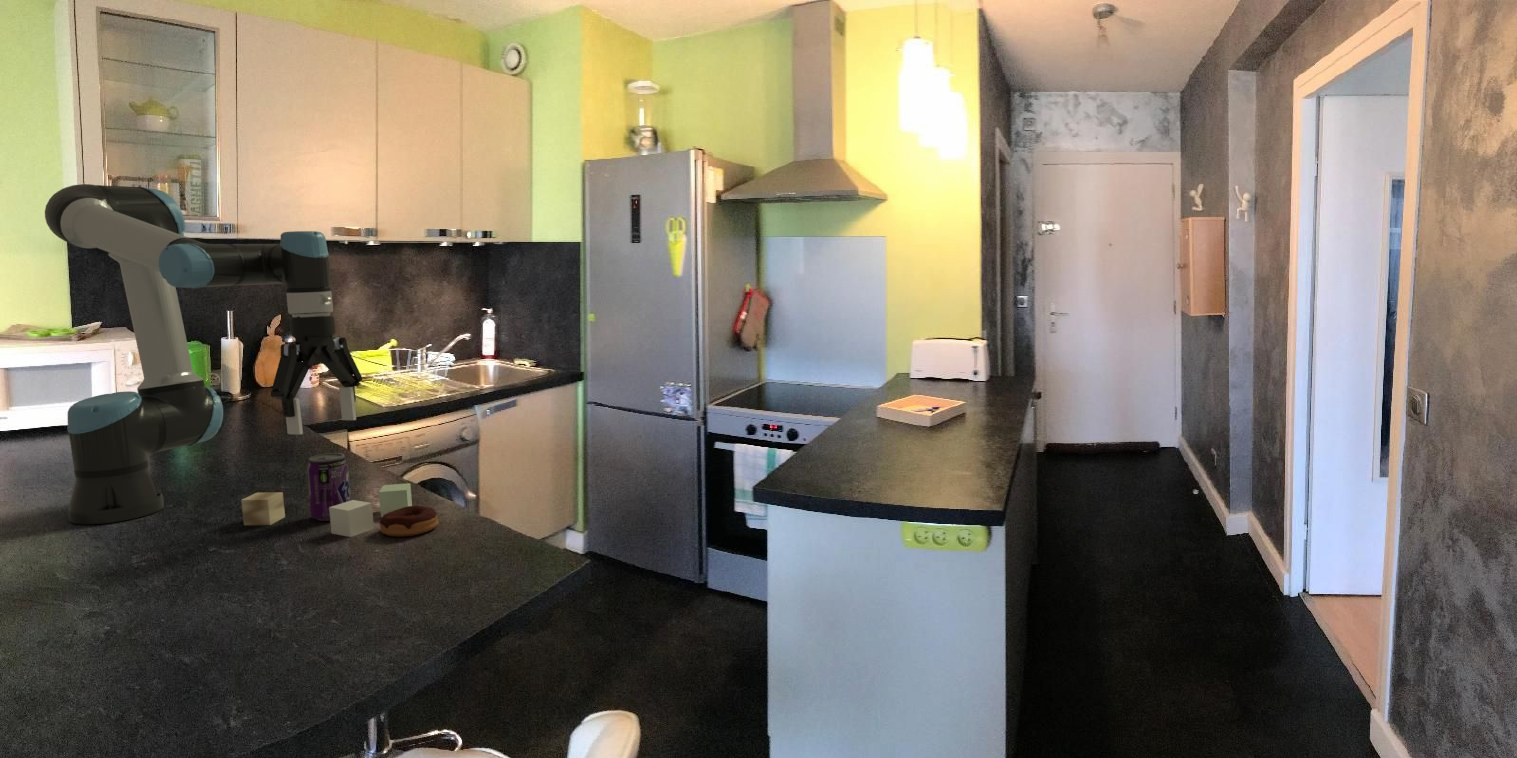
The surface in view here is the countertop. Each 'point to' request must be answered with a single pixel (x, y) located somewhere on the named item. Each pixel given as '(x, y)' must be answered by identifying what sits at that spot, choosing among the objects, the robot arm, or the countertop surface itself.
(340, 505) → the off-white cube
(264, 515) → the beech cube
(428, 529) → the donut
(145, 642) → the countertop surface
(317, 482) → the beverage can
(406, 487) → the sage cube
